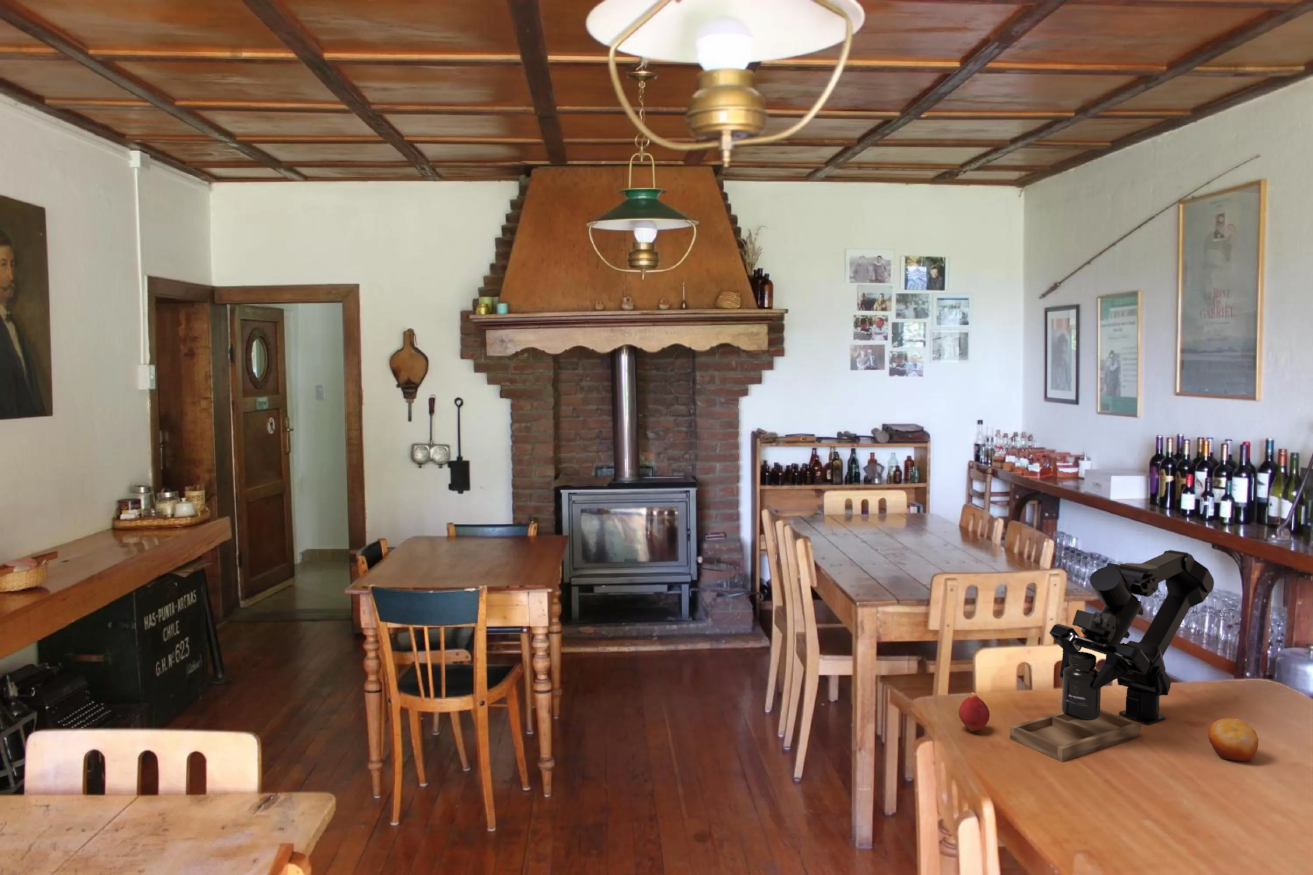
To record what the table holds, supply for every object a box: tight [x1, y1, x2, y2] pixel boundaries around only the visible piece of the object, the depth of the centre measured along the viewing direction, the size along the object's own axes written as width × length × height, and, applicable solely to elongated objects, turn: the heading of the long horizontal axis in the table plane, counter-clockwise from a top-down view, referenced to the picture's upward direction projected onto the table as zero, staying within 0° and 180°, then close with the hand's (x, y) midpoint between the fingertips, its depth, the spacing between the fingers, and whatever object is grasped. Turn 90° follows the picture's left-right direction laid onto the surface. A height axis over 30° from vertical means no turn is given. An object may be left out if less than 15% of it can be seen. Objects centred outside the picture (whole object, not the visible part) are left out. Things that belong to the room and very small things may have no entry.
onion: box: [958, 692, 991, 732], centre depth 185 cm, size 6×6×8 cm
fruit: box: [1207, 717, 1260, 762], centre depth 173 cm, size 8×8×8 cm
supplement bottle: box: [1061, 651, 1102, 721], centre depth 179 cm, size 7×7×12 cm
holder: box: [1009, 709, 1142, 763], centre depth 182 cm, size 23×12×2 cm, turn 118°
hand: (1077, 682), depth 178 cm, fingers closed on supplement bottle, 7 cm apart
